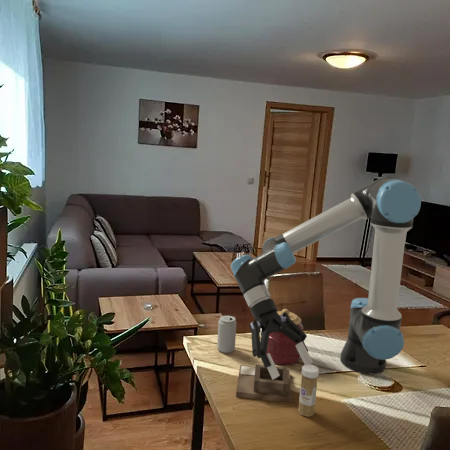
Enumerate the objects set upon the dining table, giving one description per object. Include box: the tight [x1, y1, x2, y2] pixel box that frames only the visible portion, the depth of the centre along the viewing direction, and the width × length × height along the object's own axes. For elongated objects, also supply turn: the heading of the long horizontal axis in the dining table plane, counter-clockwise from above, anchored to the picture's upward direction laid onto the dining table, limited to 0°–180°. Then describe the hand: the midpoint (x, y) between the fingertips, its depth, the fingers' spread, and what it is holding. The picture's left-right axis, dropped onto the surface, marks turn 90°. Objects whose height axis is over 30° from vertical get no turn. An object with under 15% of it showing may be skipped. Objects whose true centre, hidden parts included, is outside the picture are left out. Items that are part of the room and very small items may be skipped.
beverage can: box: [216, 315, 237, 354], centre depth 153 cm, size 6×6×12 cm
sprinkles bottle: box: [297, 363, 320, 418], centre depth 118 cm, size 5×5×13 cm
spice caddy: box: [235, 363, 293, 403], centre depth 131 cm, size 16×16×5 cm
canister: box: [266, 308, 304, 366], centre depth 149 cm, size 13×13×18 cm
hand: (293, 370), depth 120 cm, fingers open, 13 cm apart
